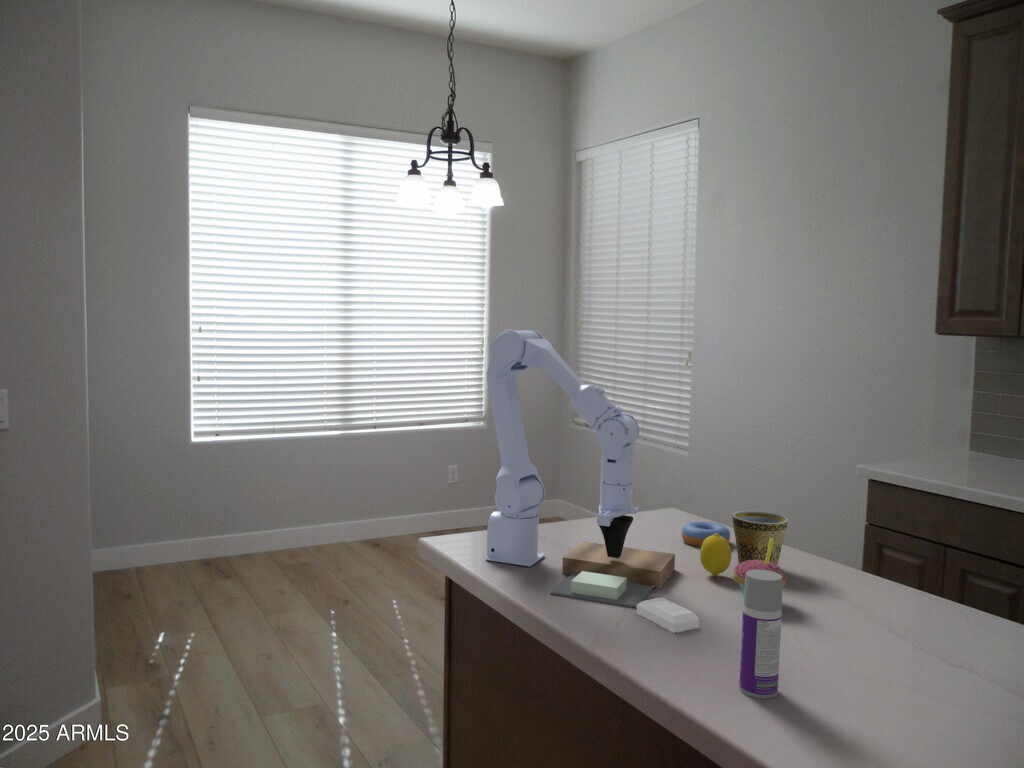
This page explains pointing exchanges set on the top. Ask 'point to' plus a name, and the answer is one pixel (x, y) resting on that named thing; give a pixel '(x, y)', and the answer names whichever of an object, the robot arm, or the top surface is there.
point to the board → (620, 563)
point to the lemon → (715, 554)
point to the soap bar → (668, 614)
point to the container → (761, 634)
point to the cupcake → (757, 568)
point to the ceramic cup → (758, 534)
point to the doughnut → (703, 532)
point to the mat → (628, 598)
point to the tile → (598, 585)
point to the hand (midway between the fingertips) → (614, 556)
